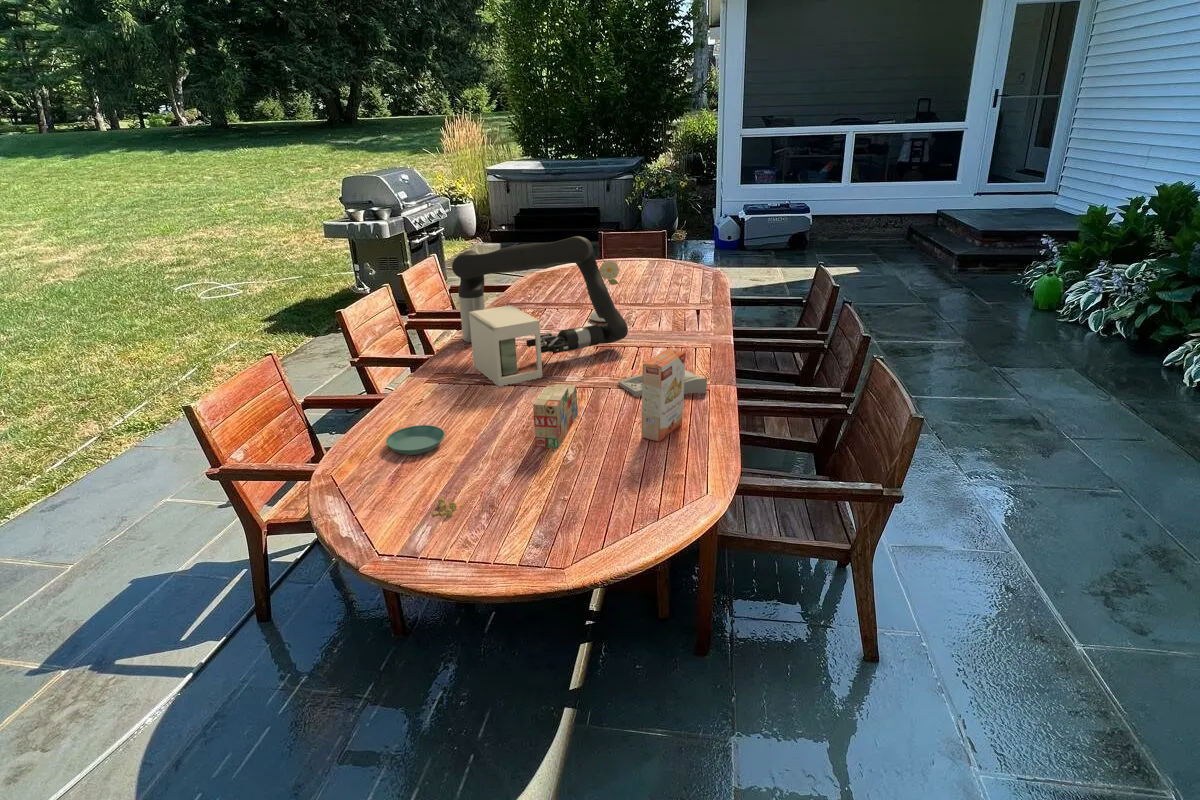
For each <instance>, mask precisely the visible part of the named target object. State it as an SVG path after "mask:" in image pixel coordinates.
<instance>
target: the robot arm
mask: <svg viewBox="0 0 1200 800" xmlns="http://www.w3.org/2000/svg"><path fill="white" fill-rule="evenodd" d="M565 263H573V264H576V266H577V268H578V270H579V271H580V273H581V274H582V277H583V279H584V282H585V285H586V286H585V287H586V290H587V293H588V296H589V300H590V302H591V305H592V307H593V309H594V310H595V311H596V314H597V315H598V317H599V318H603V319H604V320H605V321H606V322H605V324H601V325H597V324H596V325H594V324H593V325H587V326H580V327H579V326H577V327H573V328H567V329H562V330H560V331H559V332H558V334H557V335H552V333H546V334H540V342H541V354H544V353H552V354H558V353H563V352H565V353H566V352H572V351H576V350H581V349H585V348H588V347H592V346H598V345H602V344H603V345H604V344H605V345H606V344H612V343H616V342H618V341H621V340H623V339H625V338H626V337H627V335H628V333H629V330H628V324H627V322H626V320H625V318H624V317H623V316H622V314H621V313H620V312H619V310H618V309H617V308H616V307H615V304H614V302H613V299H612V297H611V295H610V292H609V289H608V290H607V288H606V286H607V285H606V286H605V284H606V283H605V282H604V278H603V277H601V274H600V272H599V271H600V270H599V269H600V268H599V266H598V263H597V259H596V255H595V251H594V247H593V245H592V242H591V241H590V240H589V239H588V238H586V237H584V236H580V235H575V236H571V237H568V238H564V239H560V240H556V241H552V242H534V243H533V242H532V243H523V244H517V245H511V246H507V247H503V248H500V249H497V250H494V251H490V252H487V253H479V252H477V251H474V250H466V251H464V252H462V253H460V254H459V255H457V256H455V258H454V259H453V262H452V264H451V268H452V272H453V273H454V275H456V276H457V277H458V278H460V283H459V287H458V290H457V292H458V301H459V302H458V303H459V312H460V322H461V331H462V340H464V341H463V342H465V341H466V342H465V343H469V342H471V344H472V341H471V331H470V321H469V312H471V311H477V310H484V309H486V308H485V295H484V289H485V276H486V275H491V274H502V273H503V274H505V273H515V272H523V271H524V272H526V271H530V270H536V269H539V268H542V267H545V266H548V265H551V264H565ZM525 345H526V347H534V346H535V347H536V342H535V338H532V339H527V340H526V344H525Z"/></svg>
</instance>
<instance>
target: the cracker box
mask: <svg viewBox="0 0 1200 800" xmlns="http://www.w3.org/2000/svg"><path fill="white" fill-rule="evenodd" d="M686 354H687V353H686V352H685V351H682V350H675V349H670V348H667V349H665V350H663V351H662V352H660V353H658V354H657V355H655V356H653V357H651V358H650V359H648V360H647V361H645V362H643V363H642V374H643V381H642V397H641V432H640V433H641V434H640V435H641V438H642V439H646V440H650V441H653V442H654V441H655V442H658V443H660V442H661V441H663V440H664V439H665V438H666V437H667V436H669V435H670V434H671V433H672V432H673V431H674V430H676V429H677V428H678V427H680V426H681V425H682V424H683V419H684V417H683V415H684V413H683V412H684V401H685V400H684V399H685V398H684V395H685V394H684V379H685V370H686V359H687V358H686V356H687V355H686ZM680 424H681V425H680Z"/></svg>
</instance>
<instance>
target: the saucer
mask: <svg viewBox="0 0 1200 800" xmlns="http://www.w3.org/2000/svg"><path fill="white" fill-rule="evenodd" d="M445 435H446V434H445V431H444V430H443V428H441V427H438V426H435V425H428V424H427V425H426V424H422V425H413V426H408V427H404V428H401V429H398V430H396V431H394V432H392V433H391V434H389V435H388V436H387V438H386V439H385V443H386V445H387V446H388V447H389V448H390V449H391V450H393V451H394V452H396V453H398V454H401V455H405V456H414V455H421V454H425V453H429V452H430V451H433V450H434V449H436V448H437V447H438V446H439V445H440V444H441V442H442V441H443V440H444V438H445Z"/></svg>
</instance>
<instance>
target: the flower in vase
mask: <svg viewBox="0 0 1200 800" xmlns="http://www.w3.org/2000/svg"><path fill="white" fill-rule="evenodd" d="M598 269H599V272H600V274H601V277H602V279H605V280H607V282H606V283H604V284H605V286H606V288H607V290H608V291H609V289H610V286H607V285H608V283H609V284H610V285H611V286H615V285H619V284H620V283H619V282H618V281H617V279H615V278H617V277H618V274H620V270H621V269H620V267H619V265H618V263H617V262H614V261H612V260H605V261H604V262H602V263H601V265H600V267H599V268H598ZM589 318H590V320H592V321H595V322H601V323H603V322H604V323H606V321H605V320H604V319H603V318H599V317H598V315H597V314H596V311H595V309H594V310H592V312H591V313H590V315H589Z"/></svg>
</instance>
